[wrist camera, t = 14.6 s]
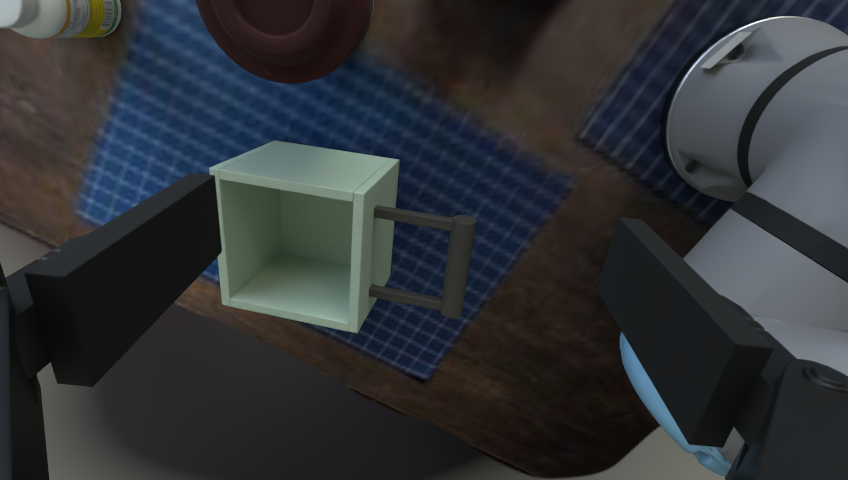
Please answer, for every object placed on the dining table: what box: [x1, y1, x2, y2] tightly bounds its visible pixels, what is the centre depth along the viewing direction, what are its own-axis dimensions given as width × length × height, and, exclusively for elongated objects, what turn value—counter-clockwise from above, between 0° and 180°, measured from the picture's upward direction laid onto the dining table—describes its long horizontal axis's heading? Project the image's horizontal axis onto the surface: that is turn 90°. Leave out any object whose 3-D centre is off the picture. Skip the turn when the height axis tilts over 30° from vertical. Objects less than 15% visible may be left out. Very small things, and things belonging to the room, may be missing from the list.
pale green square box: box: [209, 140, 476, 333], centre depth 40 cm, size 20×12×10 cm, turn 84°
